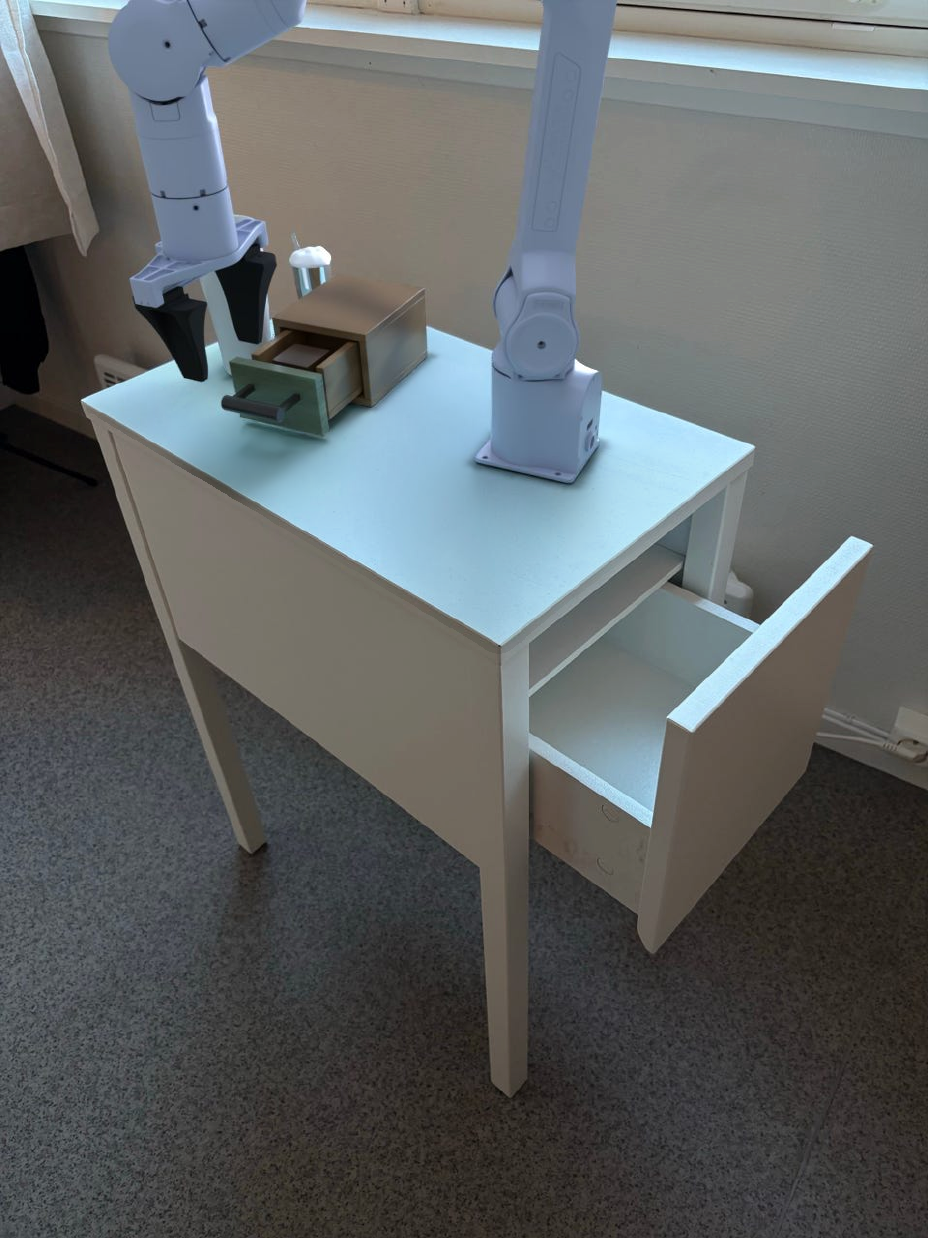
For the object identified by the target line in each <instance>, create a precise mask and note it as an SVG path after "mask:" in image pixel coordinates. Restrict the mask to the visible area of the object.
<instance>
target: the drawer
mask: <svg viewBox="0 0 928 1238" xmlns="http://www.w3.org/2000/svg"><path fill="white" fill-rule="evenodd" d="M359 342H360V341H355V340H349V339H344V338H339V337H333V336H328V335H323V334H318V333H312V332H307V331H302V330H296V329H291V328H287V329H286V330H285V331H283V332H282V333H280V334H279V335H277V336H276V337H275V336H274V337H273V338H271V340H270V341H269V342H267V343H266V344H265V345H263V346H262V347H260V348H259V349H257V350H256V351H255V352H253V353H252V354H251V356H252V360H251V359H246V358H241V357H235V358H233V359H232V360H230V361H229V365H230V370H231V375H232V376H231V375H230V376H231V379H232V384H233V389H234V394H233V395H230V394H225V395H223V397H222V398H221V401H220V406H221V408H222V410H223V411H226V412H230V413H235V414H238V415H239V418H240V419H241V418H242V419H244V420H250V421H254V422H259V423H263V424H266V425H271V426H276V427H279V428H285V429H288V430H293V431H298V432H302V433H306V434H311V435H314V436H319V437H324V436H326V434H327V433H328V432H330V427H329V421H330V420H332V418H335V416H336V415H337V414H338V413H340V411H342V410H343V409H344V408H345V407H346V406H348V405H349V404H350V402H351V401H352V400H353V399H354V398H355V397H356V396H358V395H359V394H360V393H361V392H362V391H363V390H364V386H363V375H362V365H361V355H360V345H359ZM295 343H296V344H300V345H305V346H310V347H315V348H320V349H325V350H330V357H329V358H327V359H326V360H325V361H323V362H322V363H321V364H320V365H318V366H317V367H316V370H317V373H314V372H309V371H304V370H300V369H295V368H290V367H285V366H280V365H275V364H272V360H273V359H274V358H275V357H277V356H278V355H280V354H281V353H282V352H284V351H285V350H287V349H288V348H289V347H291V346H292V345H294V344H295Z"/></svg>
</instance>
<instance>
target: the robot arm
mask: <svg viewBox="0 0 928 1238" xmlns="http://www.w3.org/2000/svg"><path fill="white" fill-rule="evenodd" d="M307 1H308V0H128V1H127V3H126V5H124V6H122V7H121V8H120V10H119V11H118V12H117V13H116V14H115V16H114V18H113V20H112V22H111V24H110V27H109V30H108V34H107V35H108V36H107V49H108V55H109V58H110V61H111V64H112V66H113V68H114V71H115V73H116V74H117V76H118V77H119V79H120V80H121V81H122V82H123V83H124V84H125V86H126V87H127V91H128V95H129V98H130V103H131V108H132V113H133V116H134V129H135V132H136V137H137V140H138V145H139V150H140V154H141V158H142V162H143V166H144V167H143V168H144V171H145V176H146V180H147V185H148V189H149V192H150V193H149V194H150V197H151V201H152V206H153V211H154V215H155V219H156V224H157V228H158V233H159V237H160V241H158V242H156V243H155V244H154V249H155V253H156V255H155V256H154V257H153V258H152V259H151V260H150V261H149V262H148V263H147V264H146V265H145V266H144V268H142V269H141V270H140V271H139V272H138V273H136V274H135V275H133V276H131V277H130V278H129V283H130V287H131V292H132V301H133V305H134V308H135V310H136V311H137V312H138V313H139V314H140V315H141V316H142V317H143V318H144V319H145V320H146V321H147V322H148V324H150V326H151V327H152V328H153V330H155V332H156V334H158V336H159V338H160V339H161V340H162V342H163V343H164V344H165V347H166V348H167V350H168V351H169V353H170V355H171V357H172V358H173V360H174V362H175V364H176V367H177V369H178V370H179V372H180V374H181V376H182V378H183V379H185V380H189V381H194V382H198V383H204V382H206V381H207V380H208V379H209V365H208V356H207V351H206V345H205V319H206V314H207V313H206V311H207V309H208V307H207V304H208V303H207V302H206V300H199V299H194V298H190V295H189V293H185V291H184V288H185V287H187V286H189V285H191V284H193V283H194V282H196V281H198V280H199V279H200V278H201V277H203V276H205V275H207V274H209V273H210V272H213V271H215V273H216V275H217V277H218V279H219V282H220V284H221V286H222V289H223V291H224V294H225V297H226V300H227V303H228V307H229V311H230V315H231V320H232V324H233V327H234V331H235V333H236V336H237V338H238V340H239V341H242V342H247V343H252V344H257V345H258V344H259V343H261V342H262V335H263V323H264V312H265V304H266V298H267V293H268V294H269V290H270V289H269V288H270V285H271V282H272V280H273V279H272V278H273V276H274V273H275V271H276V268H277V267H278V264H277V263H278V262H277V257H276V254H275V253H273V252H270V251H264V250H263V251H261V250H260V248H263V249H264V248H265V247H267V246H269V244H270V243H269V236H268V229H267V224H266V221H265V220H261V219H255V218H253V219H247V218H245V219H243V220H241V221H239V222H236V223H235V220H234V215H235V213H234V209H233V203H232V198H231V191H230V185H229V182H228V181H229V180H228V176H227V169H226V164H225V157H224V152H223V146H222V141H221V134H220V130H219V123H218V118H217V115H216V113H215V111H214V107H213V106H214V105H213V102H212V95H211V89H210V83H209V79H208V75H206V74H205V72H206V70H207V69H208V67H216V68H224V67H226V66H228V65H229V64H231V63H233V62H235V61H237V60H239V59H240V58H242V57H243V56H246V55H247V54H250V53H252V51H254V50H256V49H257V48H260V47H261V46H263V45H265V44H266V43H268V42H270V41H272V40H274V39H276V38H277V37H280V36H281V35H282V34H285V33H286V32H287V31H289V30H291V29H293V28H296V27H297V26H298V25H300V24H301V23H302V22H303V20H304V16H305V11H306V7H307ZM540 2H541V4H542V9H543V13H542V20H541V27H540V28H541V29H540V35H539V44H538V51H537V59H536V60H537V61H536V68H535V76H534V85H533V91H532V92H533V93H532V102H531V109H530V116H529V125H528V132H527V133H528V134H527V141H526V152H525V156H524V157H525V158H524V166H523V174H522V183H521V191H520V197H519V205H518V206H519V207H518V213H517V214H518V215H517V223H516V231H515V236H514V240H513V242H512V245H511V247H510V249H509V251H508V252H509V253H508V262H507V265H506V269H505V272H504V274H503V276H502V277H501V278H500V279H499V281H498V283H497V285H496V287H495V289H494V291H493V295H492V310H493V314H494V315H493V316H494V317H495V318H496V320H497V325H498V329H499V333H500V339H499V341H498V343H497V344H496V346H495V348H494V349H493V351H492V352H491V382H490V383H491V385H490V386H491V389H490V390H491V397H490V398H491V401H490V403H491V405H490V407H491V411H490V412H491V413H490V415H491V417H490V418H491V421H490V422H491V423H490V424H491V427H490V428H491V429H490V431H491V433H490V434H491V435H490V438H489V439H488V441H486V442H485V444H483V446H482V447H481V448H480V449H479V451H478V452H477V453H476V454H475V456H474V462H476V463H479V464H483V465H486V466H487V465H488V466H492V467H496V468H500V469H505V470H508V471H513V472H517V473H522V474H526V475H531V476H536V477H540V478H543V479H544V478H545V479H548V480H554V481H558V482H562V483H565V484H566V483H567V484H571V483H573V482H574V481H575V480H576V478H577V477H578V475H579V474H580V472H582V470H583V468H584V466H586V464H587V462H588V461H589V459H590V458H591V456H592V455H593V453H594V452H595V450H596V449H597V448H598V446H599V444H600V443H601V439H600V438H599V431H600V429H599V428H600V416H601V407H602V396H603V395H602V394H603V376H602V373H601V371H599V370H596V369H593V368H590V367H588V366H585V365H584V364H583V363H581V362H580V361H578V360H577V359H576V356H577V354H578V351H579V349H580V343H581V334H580V329H579V326H578V323H577V320H576V317H575V304H576V298H577V275H576V252H577V251H576V250H577V245H578V238H579V232H580V227H581V220H582V214H583V207H584V203H585V202H584V201H585V195H586V190H587V184H588V177H589V170H590V167H591V159H592V153H593V149H594V141H595V136H596V130H597V123H598V119H599V118H598V117H599V112H600V105H601V99H602V94H603V88H604V81H605V75H606V69H607V64H608V57H609V51H610V46H611V40H612V33H613V29H614V28H613V27H614V20H615V15H616V10H617V5H618V4H617V3H618V0H540ZM254 219H255V220H254Z"/></svg>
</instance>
